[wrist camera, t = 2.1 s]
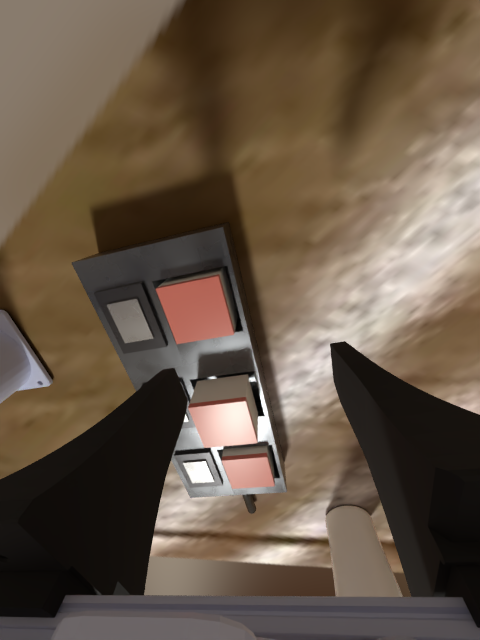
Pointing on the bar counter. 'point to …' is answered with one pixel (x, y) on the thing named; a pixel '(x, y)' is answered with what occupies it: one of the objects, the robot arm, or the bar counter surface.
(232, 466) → the button
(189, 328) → the button
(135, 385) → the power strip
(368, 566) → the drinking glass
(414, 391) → the robot arm
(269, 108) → the bar counter surface
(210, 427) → the button
